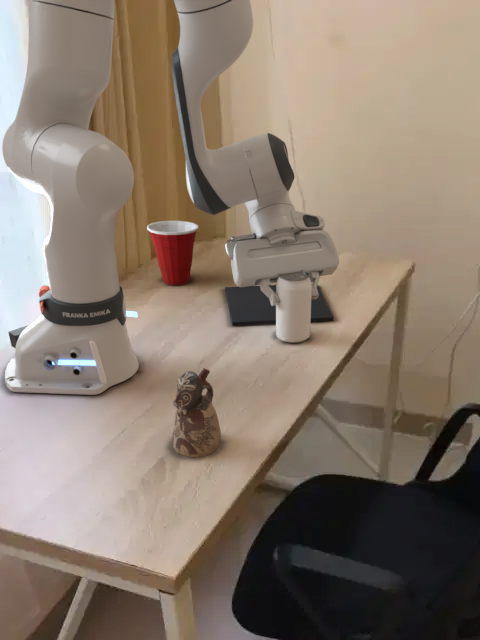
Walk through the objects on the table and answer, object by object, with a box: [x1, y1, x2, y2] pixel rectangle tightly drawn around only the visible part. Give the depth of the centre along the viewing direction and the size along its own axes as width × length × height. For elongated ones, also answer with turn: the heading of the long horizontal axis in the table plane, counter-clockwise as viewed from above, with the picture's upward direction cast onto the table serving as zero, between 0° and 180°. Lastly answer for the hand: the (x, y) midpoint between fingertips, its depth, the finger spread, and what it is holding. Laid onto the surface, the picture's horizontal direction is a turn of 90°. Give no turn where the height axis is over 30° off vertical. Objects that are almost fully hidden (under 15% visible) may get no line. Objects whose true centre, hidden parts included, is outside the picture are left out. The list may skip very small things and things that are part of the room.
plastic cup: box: [146, 220, 199, 286], centre depth 160 cm, size 11×11×12 cm
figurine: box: [171, 367, 222, 458], centre depth 108 cm, size 7×7×12 cm
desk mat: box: [224, 283, 334, 327], centre depth 153 cm, size 20×18×1 cm
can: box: [275, 270, 312, 344], centre depth 138 cm, size 6×6×12 cm
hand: (295, 301), depth 137 cm, fingers closed on can, 6 cm apart
